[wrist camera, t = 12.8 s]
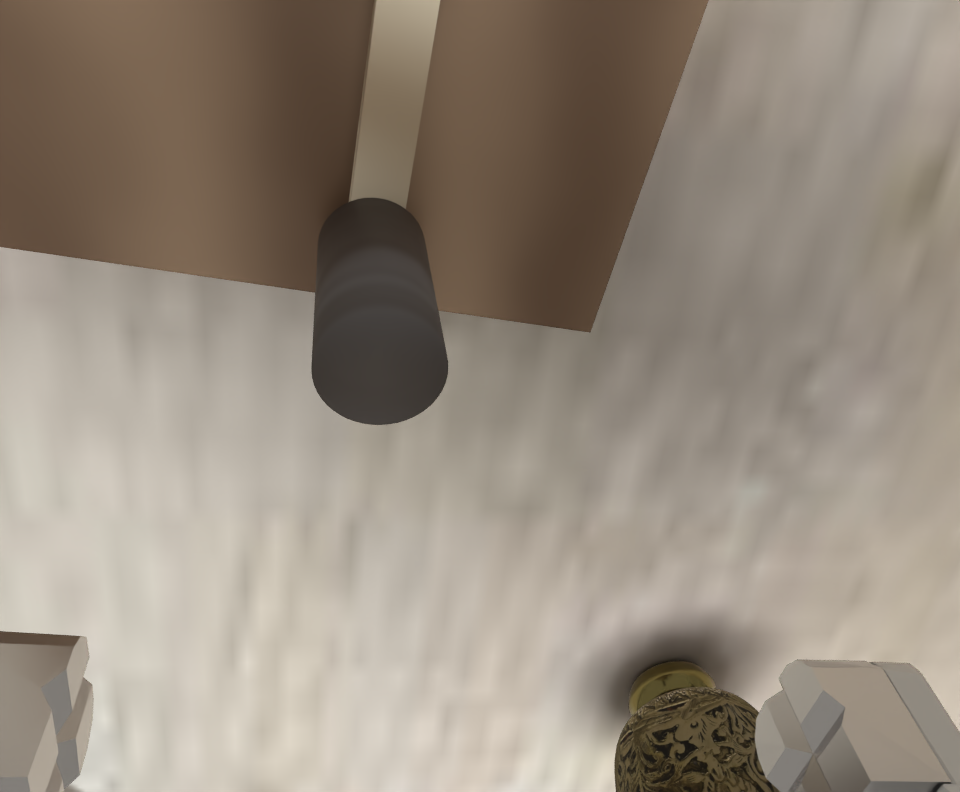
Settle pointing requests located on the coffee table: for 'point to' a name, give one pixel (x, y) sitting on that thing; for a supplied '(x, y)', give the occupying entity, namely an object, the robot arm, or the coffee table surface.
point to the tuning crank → (381, 243)
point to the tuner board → (336, 138)
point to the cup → (687, 736)
